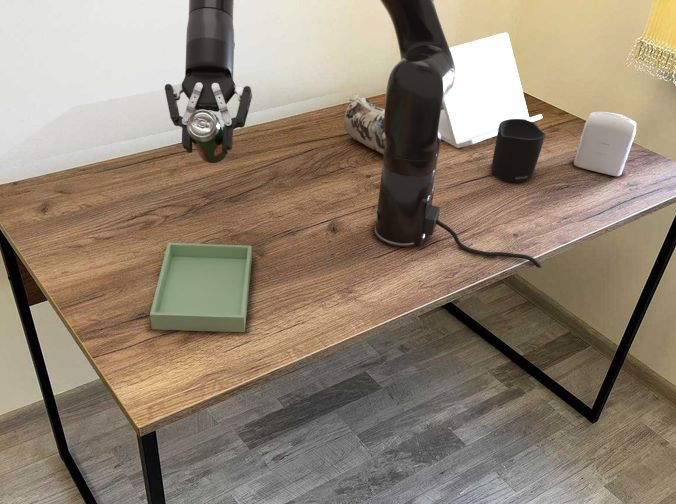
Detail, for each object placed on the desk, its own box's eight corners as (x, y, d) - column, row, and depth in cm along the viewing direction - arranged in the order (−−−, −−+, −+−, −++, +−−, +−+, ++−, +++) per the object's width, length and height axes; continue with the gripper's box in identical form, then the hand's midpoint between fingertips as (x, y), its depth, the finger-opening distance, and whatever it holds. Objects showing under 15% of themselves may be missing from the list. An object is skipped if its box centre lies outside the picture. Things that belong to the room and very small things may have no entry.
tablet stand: (411, 123, 172) (422, 48, 160) (483, 98, 184) (498, 28, 173) (469, 154, 162) (485, 77, 150) (541, 126, 174) (561, 53, 163)
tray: (169, 257, 128) (167, 242, 126) (251, 260, 128) (251, 245, 126) (151, 329, 114) (149, 314, 112) (244, 332, 114) (244, 317, 112)
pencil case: (436, 165, 157) (444, 122, 151) (409, 177, 153) (416, 133, 146) (363, 128, 169) (367, 86, 162) (336, 138, 164) (339, 95, 158)
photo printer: (570, 166, 160) (587, 112, 152) (575, 158, 163) (591, 104, 155) (619, 179, 157) (638, 124, 149) (622, 171, 160) (642, 116, 152)
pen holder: (484, 178, 154) (494, 133, 148) (494, 158, 161) (504, 115, 154) (529, 188, 152) (541, 143, 145) (537, 168, 159) (549, 124, 152)
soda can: (224, 167, 123) (214, 143, 111) (194, 160, 123) (181, 135, 111) (231, 138, 124) (222, 111, 112) (202, 131, 124) (190, 103, 112)
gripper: (159, 34, 114) (156, 142, 113) (253, 36, 114) (250, 145, 113) (169, 56, 121) (166, 158, 120) (257, 58, 122) (254, 160, 121)
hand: (207, 151), depth 117 cm, fingers closed on soda can, 5 cm apart
